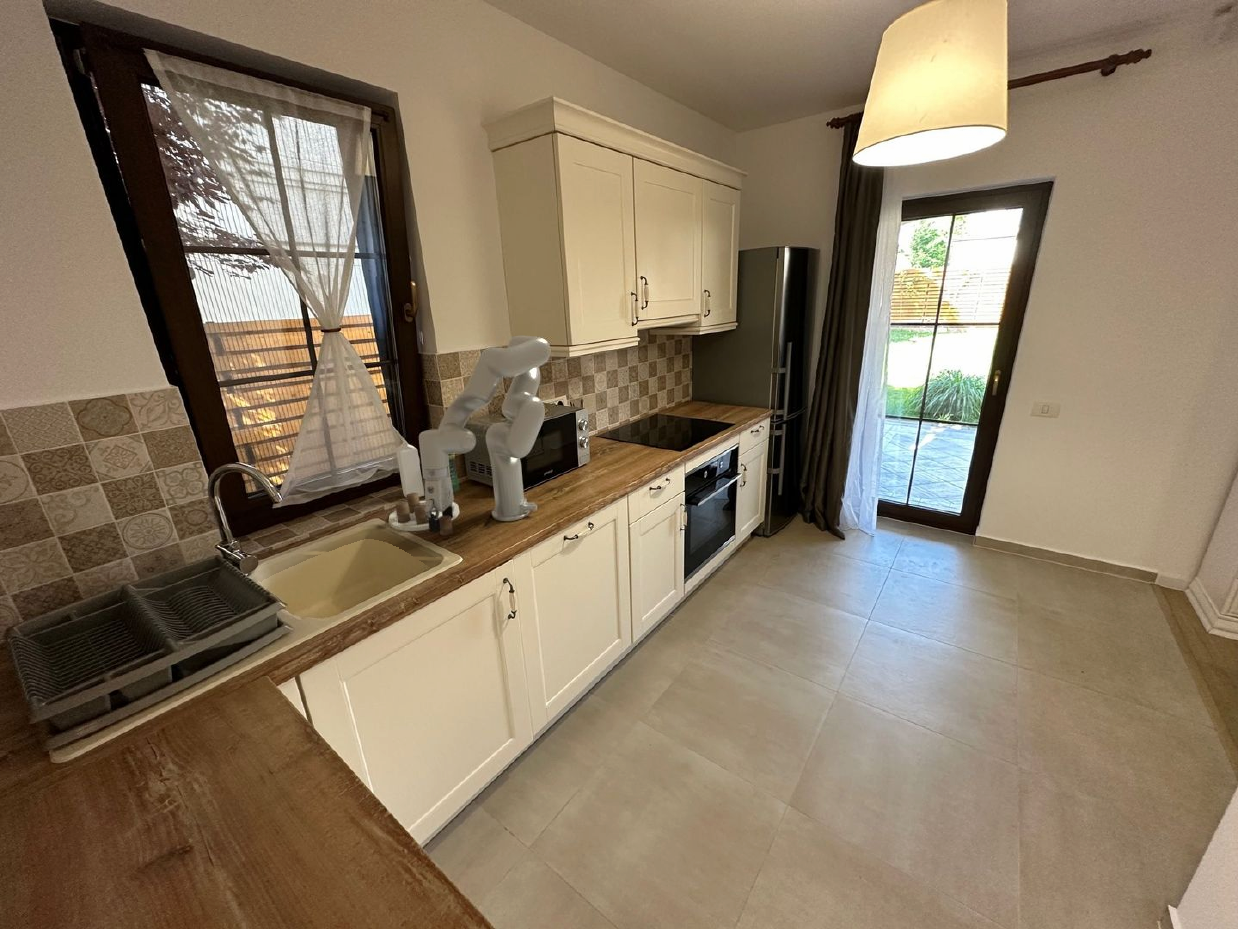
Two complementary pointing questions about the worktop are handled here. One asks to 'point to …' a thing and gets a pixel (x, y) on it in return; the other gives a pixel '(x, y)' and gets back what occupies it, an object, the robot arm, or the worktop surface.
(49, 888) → the worktop surface
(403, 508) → the brown round peg
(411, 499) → the seated bead
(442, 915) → the worktop surface
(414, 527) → the groove tray
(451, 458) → the coffee jar
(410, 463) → the milk
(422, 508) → the brown round peg
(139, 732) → the worktop surface
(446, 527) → the tan rounded cylinder
